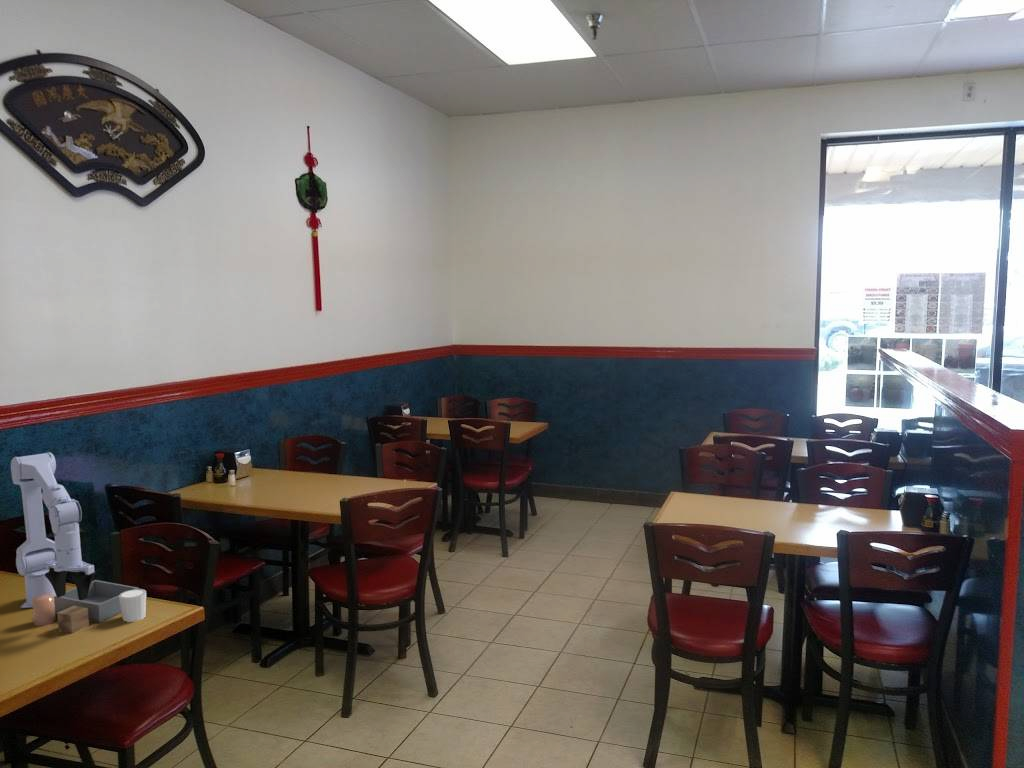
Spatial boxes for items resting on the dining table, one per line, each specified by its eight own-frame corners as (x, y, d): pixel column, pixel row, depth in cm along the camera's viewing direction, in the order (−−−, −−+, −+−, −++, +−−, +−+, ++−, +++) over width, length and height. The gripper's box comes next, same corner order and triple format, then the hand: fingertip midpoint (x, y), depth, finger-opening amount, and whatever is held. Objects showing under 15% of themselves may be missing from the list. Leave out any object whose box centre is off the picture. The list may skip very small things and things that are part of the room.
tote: (55, 613, 214) (53, 596, 213) (96, 596, 226) (95, 579, 225) (99, 622, 207) (98, 604, 207) (139, 604, 220) (138, 587, 219)
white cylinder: (114, 620, 209) (112, 595, 208) (137, 611, 215) (135, 587, 214) (131, 624, 206) (129, 599, 205) (153, 615, 212) (151, 591, 211)
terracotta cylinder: (39, 619, 210) (37, 594, 210) (58, 617, 211) (56, 593, 210) (31, 626, 206) (28, 601, 205) (51, 625, 206) (49, 600, 206)
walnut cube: (58, 630, 203) (57, 612, 202) (75, 623, 208) (74, 605, 207) (72, 633, 201) (70, 615, 201) (89, 626, 206) (87, 608, 205)
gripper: (33, 550, 200) (37, 600, 202) (76, 554, 196) (80, 606, 197) (57, 542, 207) (61, 590, 208) (99, 546, 202) (103, 595, 204)
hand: (72, 597), depth 203 cm, fingers open, 7 cm apart
